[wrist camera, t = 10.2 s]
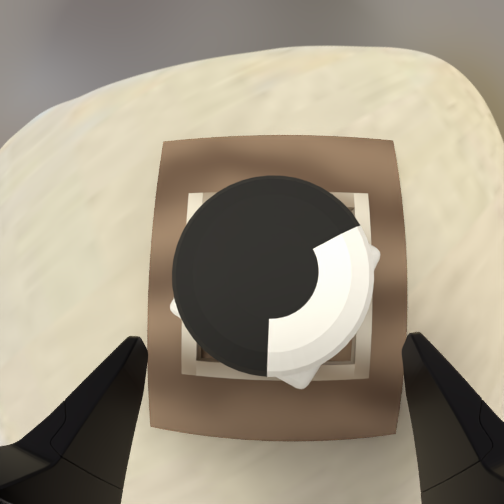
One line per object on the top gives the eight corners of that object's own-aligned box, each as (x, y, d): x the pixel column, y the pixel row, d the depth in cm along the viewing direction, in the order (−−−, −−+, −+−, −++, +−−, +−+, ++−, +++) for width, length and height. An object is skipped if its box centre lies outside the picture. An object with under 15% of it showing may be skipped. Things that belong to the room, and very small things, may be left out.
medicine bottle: (204, 307, 20) (106, 312, 8) (258, 215, 21) (228, 114, 9) (296, 362, 19) (314, 443, 7) (351, 268, 20) (435, 224, 8)
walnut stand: (390, 428, 18) (400, 440, 16) (156, 421, 20) (144, 432, 18) (388, 147, 22) (397, 133, 19) (168, 148, 24) (158, 134, 21)
